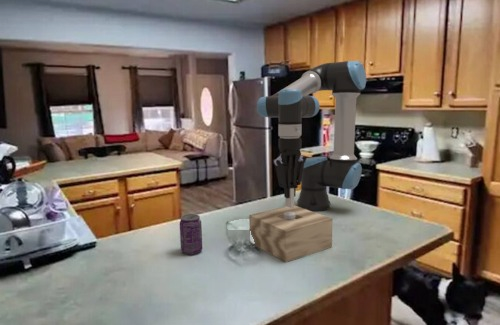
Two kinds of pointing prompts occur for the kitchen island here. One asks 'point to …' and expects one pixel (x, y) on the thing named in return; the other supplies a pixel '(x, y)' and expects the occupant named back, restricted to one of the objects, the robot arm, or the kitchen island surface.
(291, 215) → the pill bottle
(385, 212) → the kitchen island surface
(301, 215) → the socket block
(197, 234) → the beverage can
